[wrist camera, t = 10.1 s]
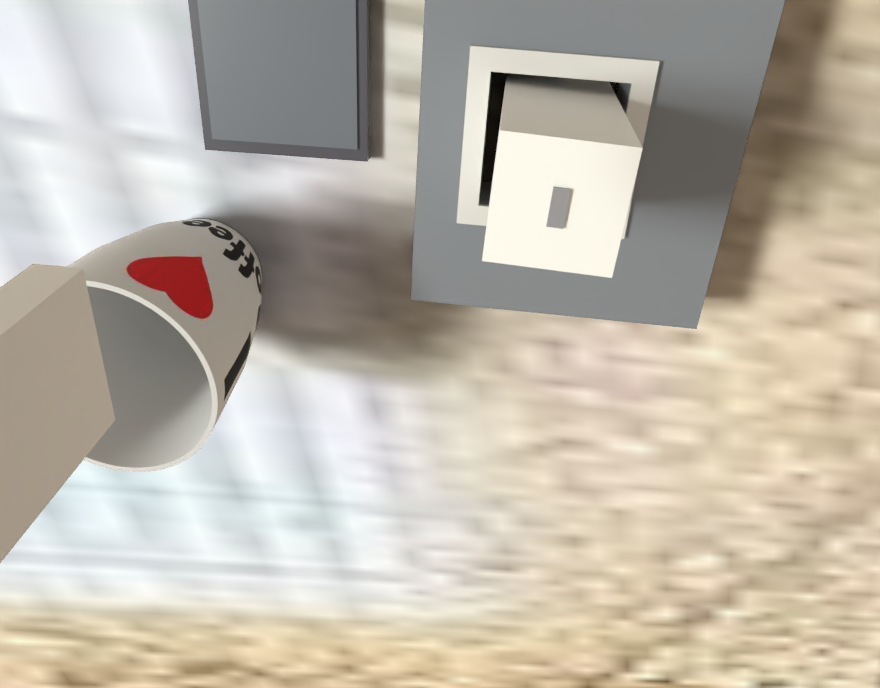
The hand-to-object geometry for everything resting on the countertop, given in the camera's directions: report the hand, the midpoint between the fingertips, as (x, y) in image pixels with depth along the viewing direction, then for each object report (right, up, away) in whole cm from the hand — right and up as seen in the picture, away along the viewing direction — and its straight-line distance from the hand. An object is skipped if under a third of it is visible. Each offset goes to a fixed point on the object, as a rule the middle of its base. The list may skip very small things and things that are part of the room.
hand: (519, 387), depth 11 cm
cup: (-12, +4, +24) cm, 27 cm away
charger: (+3, +10, +19) cm, 22 cm away
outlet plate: (+4, +11, +18) cm, 22 cm away
